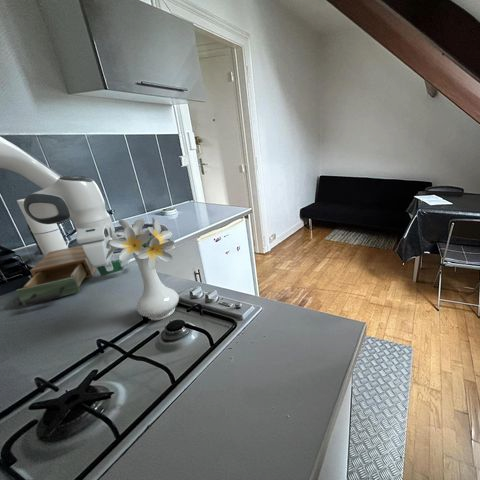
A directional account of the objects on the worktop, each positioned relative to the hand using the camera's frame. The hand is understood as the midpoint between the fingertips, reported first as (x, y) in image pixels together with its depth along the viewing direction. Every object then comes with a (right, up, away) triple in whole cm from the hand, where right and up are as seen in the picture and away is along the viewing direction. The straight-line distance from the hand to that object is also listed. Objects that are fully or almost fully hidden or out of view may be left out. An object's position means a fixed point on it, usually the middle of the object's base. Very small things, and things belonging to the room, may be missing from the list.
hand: (111, 268), depth 86 cm
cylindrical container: (-35, +1, +18) cm, 39 cm away
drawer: (-12, -6, -6) cm, 14 cm away
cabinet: (-19, -2, +7) cm, 21 cm away
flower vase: (+29, -10, -18) cm, 35 cm away
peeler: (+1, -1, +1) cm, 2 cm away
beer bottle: (-48, +4, +28) cm, 55 cm away
